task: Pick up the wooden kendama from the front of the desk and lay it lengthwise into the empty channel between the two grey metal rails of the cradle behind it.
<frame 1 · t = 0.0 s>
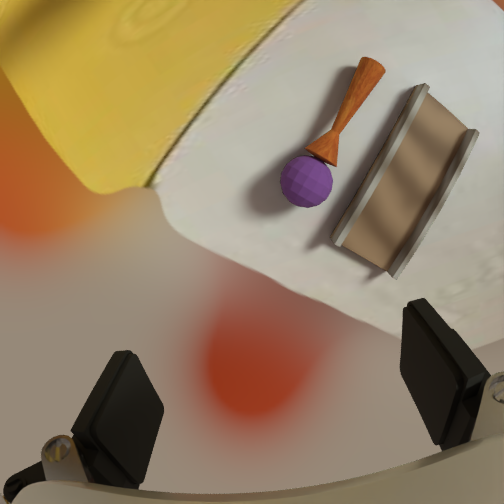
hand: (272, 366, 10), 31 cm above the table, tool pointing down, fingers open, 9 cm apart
kendama: (332, 130, 36), on the table
rail cradle: (406, 180, 38), on the table
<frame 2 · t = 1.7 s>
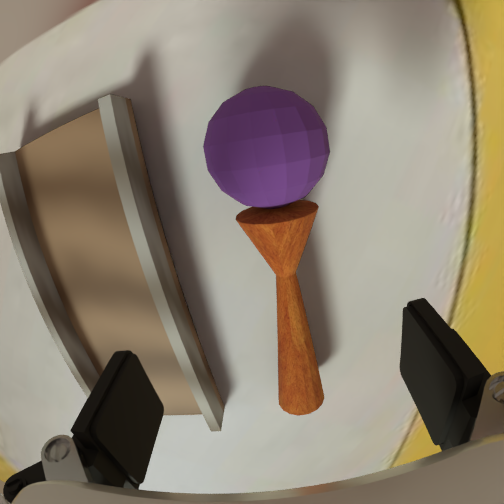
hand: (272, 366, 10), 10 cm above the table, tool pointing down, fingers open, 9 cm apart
kendama: (283, 261, 20), on the table
rail cradle: (111, 291, 21), on the table
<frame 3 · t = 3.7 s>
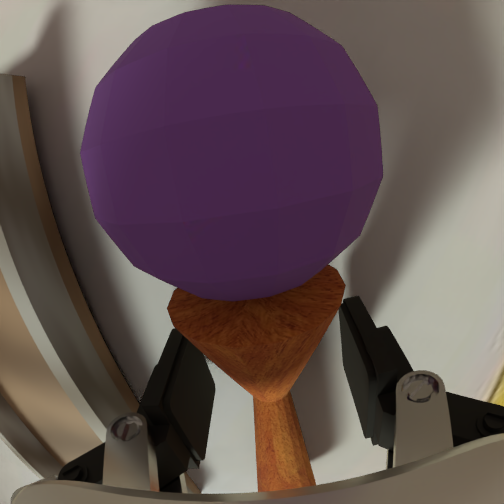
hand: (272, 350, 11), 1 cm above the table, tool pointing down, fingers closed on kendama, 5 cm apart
kendama: (268, 347, 11), on the table, touching gripper
rail cradle: (34, 361, 12), on the table
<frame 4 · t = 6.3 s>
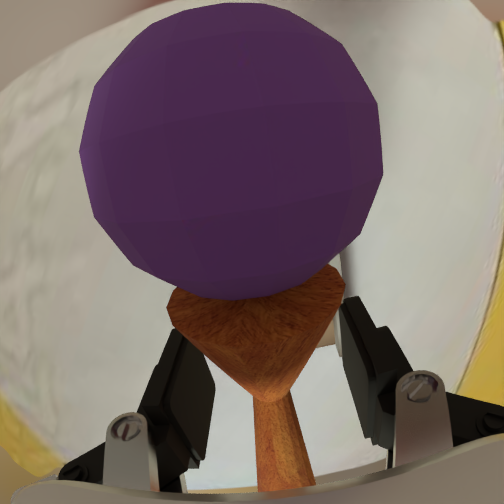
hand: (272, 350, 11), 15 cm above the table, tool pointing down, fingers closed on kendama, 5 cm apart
kendama: (268, 347, 11), point 15 cm above the table, touching gripper
rail cradle: (262, 228, 25), on the table
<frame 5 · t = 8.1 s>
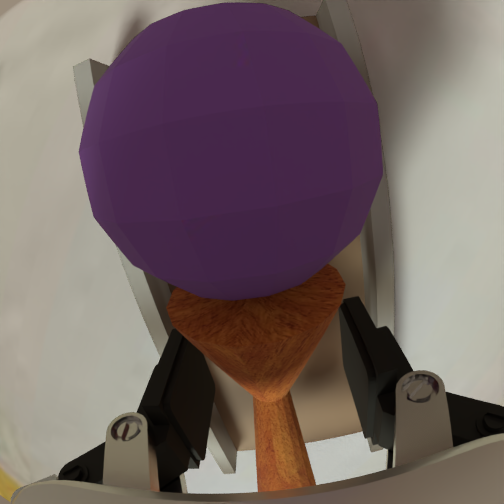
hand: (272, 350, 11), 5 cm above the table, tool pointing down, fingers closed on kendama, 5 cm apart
kendama: (268, 347, 11), point 4 cm above the table, touching gripper
rail cradle: (268, 289, 15), on the table
when the fingers open (3 cm above the table, at t = 9.4 s): kendama drops 1 cm, resting on rail cradle.
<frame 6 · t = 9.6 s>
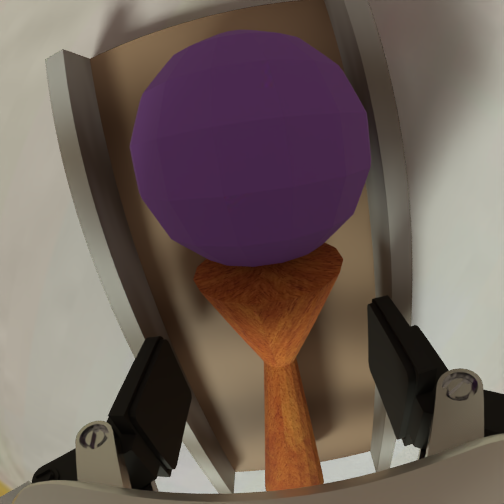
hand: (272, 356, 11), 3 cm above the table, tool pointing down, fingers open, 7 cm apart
kendama: (275, 324, 13), point 1 cm above the table, touching rail cradle
rail cradle: (269, 309, 14), on the table
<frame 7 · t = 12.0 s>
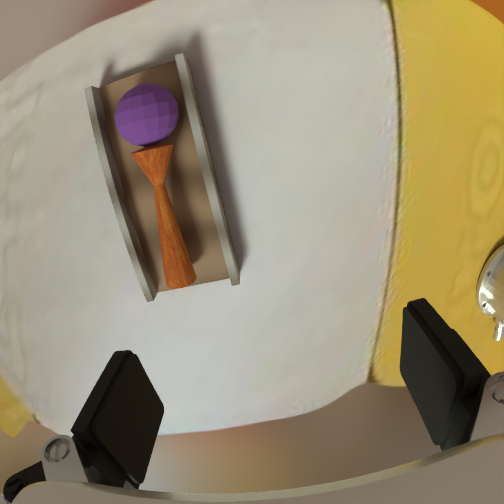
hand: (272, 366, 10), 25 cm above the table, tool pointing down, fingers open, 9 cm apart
kendama: (165, 184, 31), point 1 cm above the table, touching rail cradle
rail cradle: (164, 180, 32), on the table
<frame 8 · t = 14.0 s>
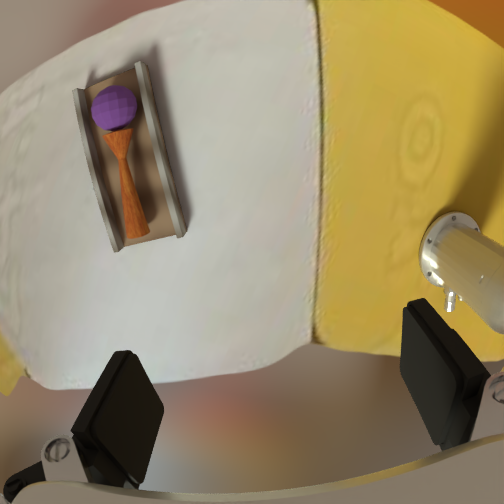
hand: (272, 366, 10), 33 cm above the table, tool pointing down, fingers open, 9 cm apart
kendama: (130, 159, 39), point 1 cm above the table, touching rail cradle
rail cradle: (130, 157, 40), on the table
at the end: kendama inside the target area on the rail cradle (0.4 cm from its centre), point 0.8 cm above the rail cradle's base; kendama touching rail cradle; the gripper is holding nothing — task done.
